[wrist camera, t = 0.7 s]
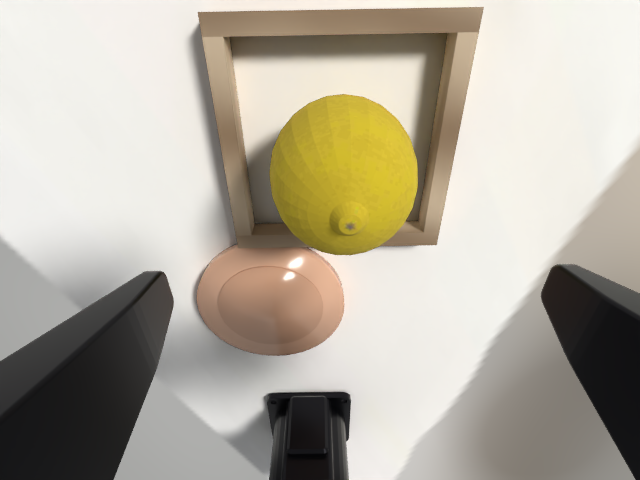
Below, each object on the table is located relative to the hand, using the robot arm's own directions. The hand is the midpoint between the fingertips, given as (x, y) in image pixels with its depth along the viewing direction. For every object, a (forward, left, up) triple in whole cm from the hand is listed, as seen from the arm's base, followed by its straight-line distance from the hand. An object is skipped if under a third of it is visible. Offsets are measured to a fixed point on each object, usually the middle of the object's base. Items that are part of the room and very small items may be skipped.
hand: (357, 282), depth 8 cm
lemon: (0, 0, -11) cm, 11 cm away
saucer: (-10, +4, -10) cm, 15 cm away
